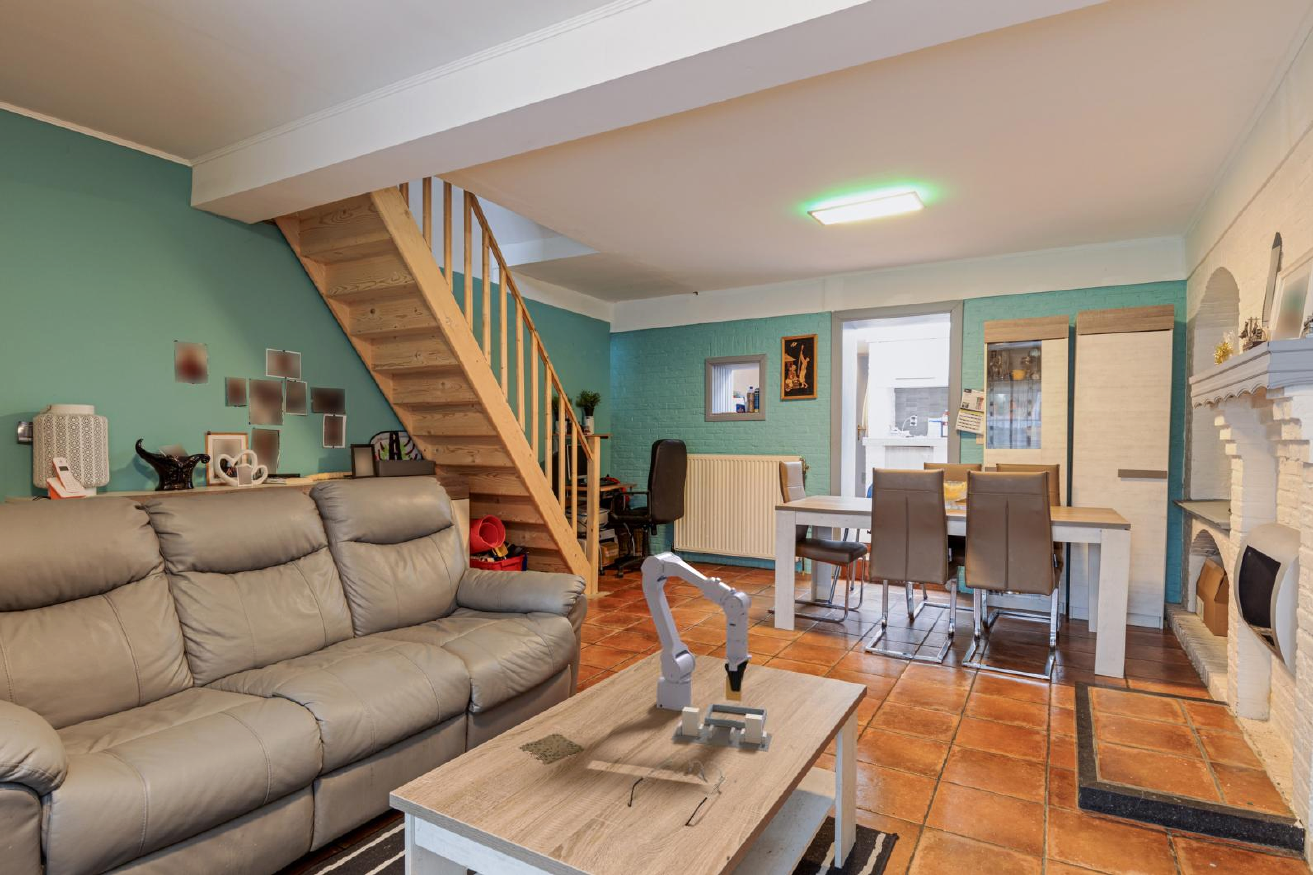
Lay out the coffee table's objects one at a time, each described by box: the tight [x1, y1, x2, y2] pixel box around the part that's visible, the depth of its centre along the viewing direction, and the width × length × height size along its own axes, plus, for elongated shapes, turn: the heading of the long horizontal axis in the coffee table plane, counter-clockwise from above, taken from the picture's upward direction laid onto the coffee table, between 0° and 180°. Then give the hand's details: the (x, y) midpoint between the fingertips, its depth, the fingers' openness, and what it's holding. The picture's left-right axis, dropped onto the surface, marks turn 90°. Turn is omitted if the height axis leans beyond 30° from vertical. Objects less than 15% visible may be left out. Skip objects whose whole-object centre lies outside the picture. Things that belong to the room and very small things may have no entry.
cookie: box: [518, 733, 585, 766], centre depth 170 cm, size 12×12×1 cm
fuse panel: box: [670, 720, 773, 753], centre depth 174 cm, size 24×10×4 cm, turn 75°
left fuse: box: [681, 706, 701, 736], centre depth 176 cm, size 4×3×6 cm, turn 76°
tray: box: [704, 703, 767, 732], centre depth 185 cm, size 15×10×3 cm
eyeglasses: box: [629, 753, 726, 826], centre depth 149 cm, size 16×19×5 cm
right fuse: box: [744, 714, 763, 744], centre depth 172 cm, size 4×3×6 cm, turn 76°
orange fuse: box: [725, 673, 743, 702], centre depth 185 cm, size 4×3×6 cm, turn 76°
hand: (736, 688), depth 185 cm, fingers closed on orange fuse, 3 cm apart
